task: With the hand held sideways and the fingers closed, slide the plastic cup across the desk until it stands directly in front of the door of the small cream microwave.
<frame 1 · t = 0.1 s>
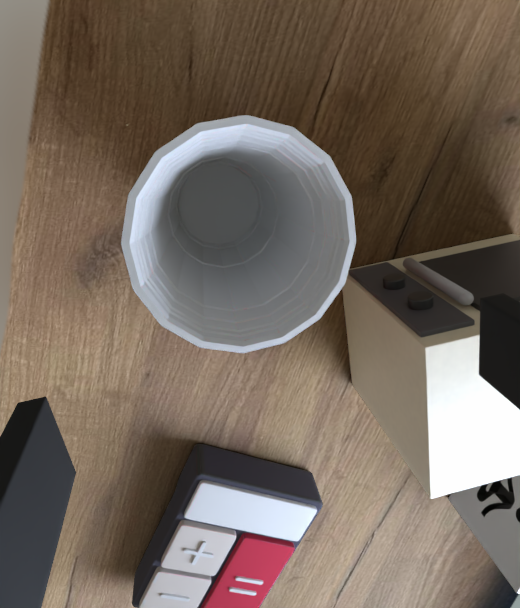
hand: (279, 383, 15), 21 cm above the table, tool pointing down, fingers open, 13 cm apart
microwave: (430, 311, 39), on the table
icon cube: (512, 462, 47), on the table
plastic cup: (219, 201, 33), on the table
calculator: (222, 522, 43), on the table
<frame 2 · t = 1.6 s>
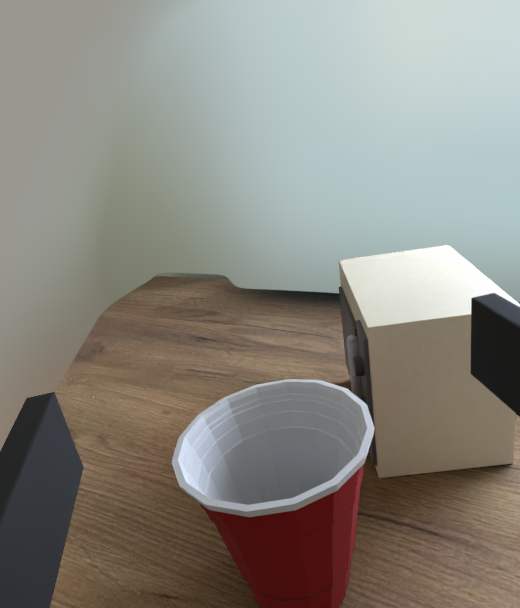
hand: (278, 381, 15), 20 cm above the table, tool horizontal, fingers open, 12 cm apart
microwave: (418, 414, 43), on the table
plastic cup: (298, 583, 31), on the table
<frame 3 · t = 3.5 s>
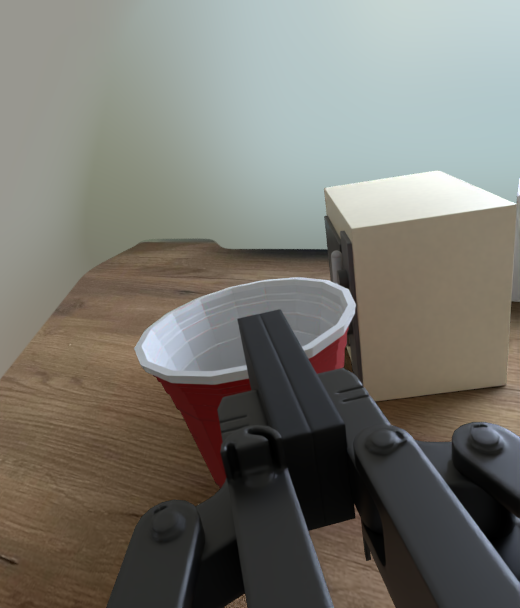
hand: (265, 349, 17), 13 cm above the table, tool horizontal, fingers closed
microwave: (408, 347, 41), on the table
plastic cup: (277, 498, 28), on the table
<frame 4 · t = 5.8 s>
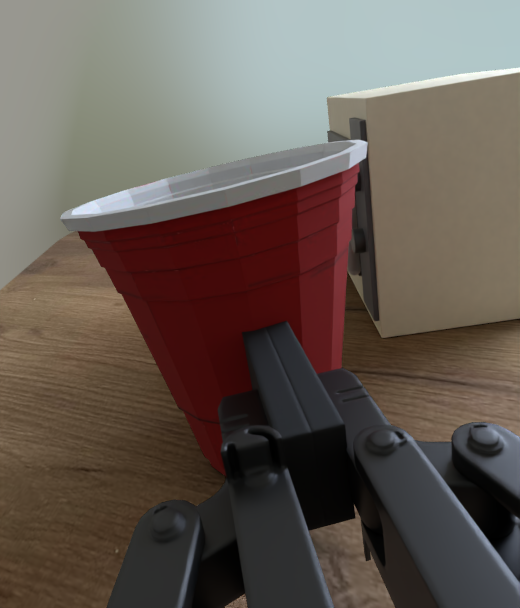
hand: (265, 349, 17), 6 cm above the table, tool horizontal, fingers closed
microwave: (429, 282, 34), on the table
plastic cup: (264, 439, 22), on the table
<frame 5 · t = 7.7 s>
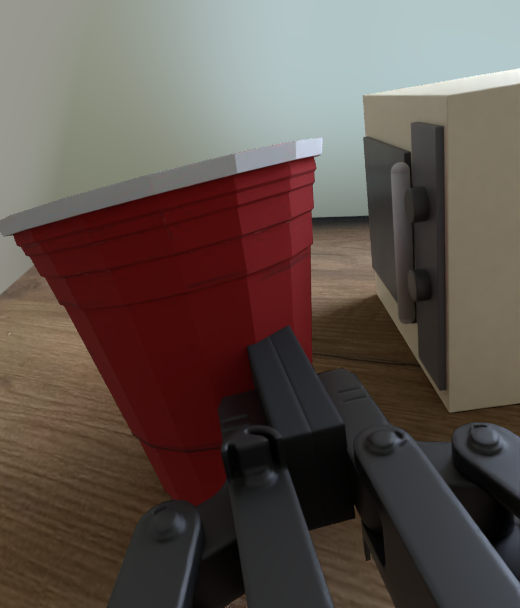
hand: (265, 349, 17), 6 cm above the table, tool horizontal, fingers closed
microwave: (492, 327, 27), on the table
plastic cup: (236, 473, 20), on the table, touching gripper
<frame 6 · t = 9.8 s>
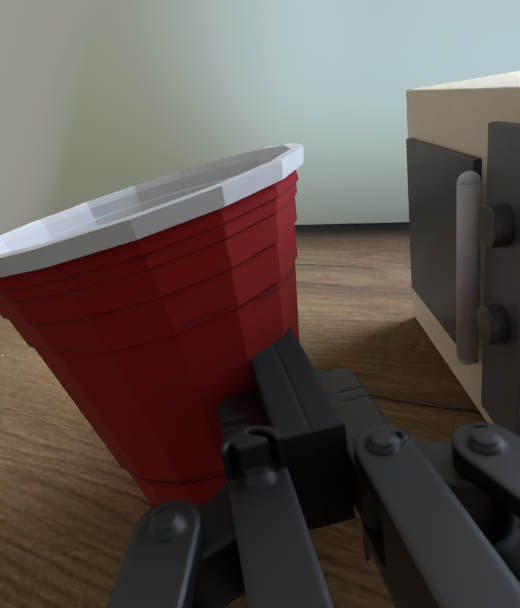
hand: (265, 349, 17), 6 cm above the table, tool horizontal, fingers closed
plastic cup: (227, 483, 20), on the table, touching gripper
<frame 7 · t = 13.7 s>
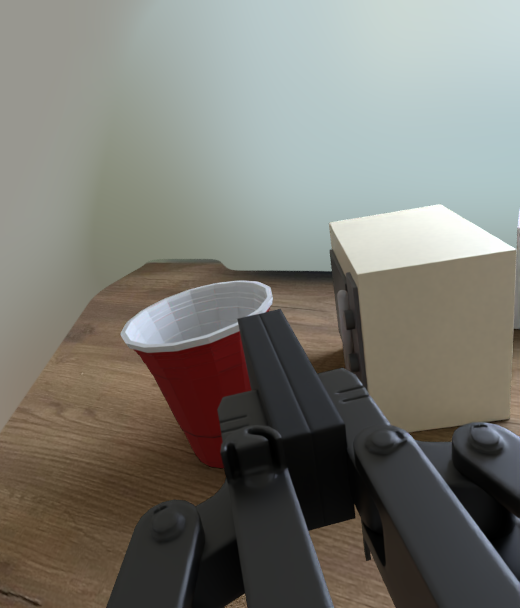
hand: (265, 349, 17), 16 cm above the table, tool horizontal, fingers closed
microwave: (413, 377, 42), on the table
plastic cup: (229, 444, 38), on the table
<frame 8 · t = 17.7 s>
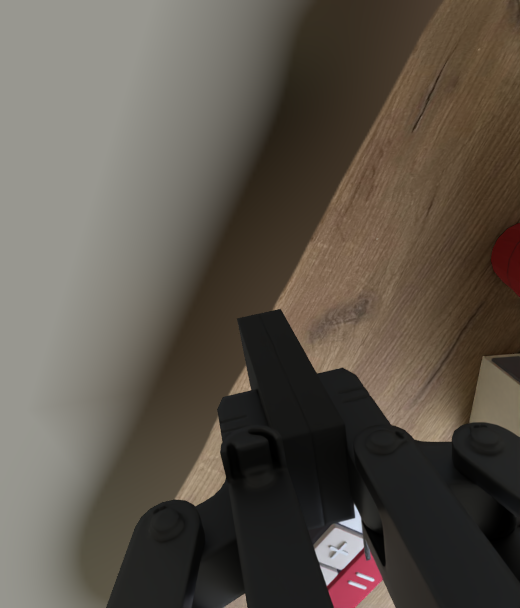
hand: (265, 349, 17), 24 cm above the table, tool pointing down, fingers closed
plastic cup: (518, 249, 45), on the table
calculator: (342, 529, 55), on the table
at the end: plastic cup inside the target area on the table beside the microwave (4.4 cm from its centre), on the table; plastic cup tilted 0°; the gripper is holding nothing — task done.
